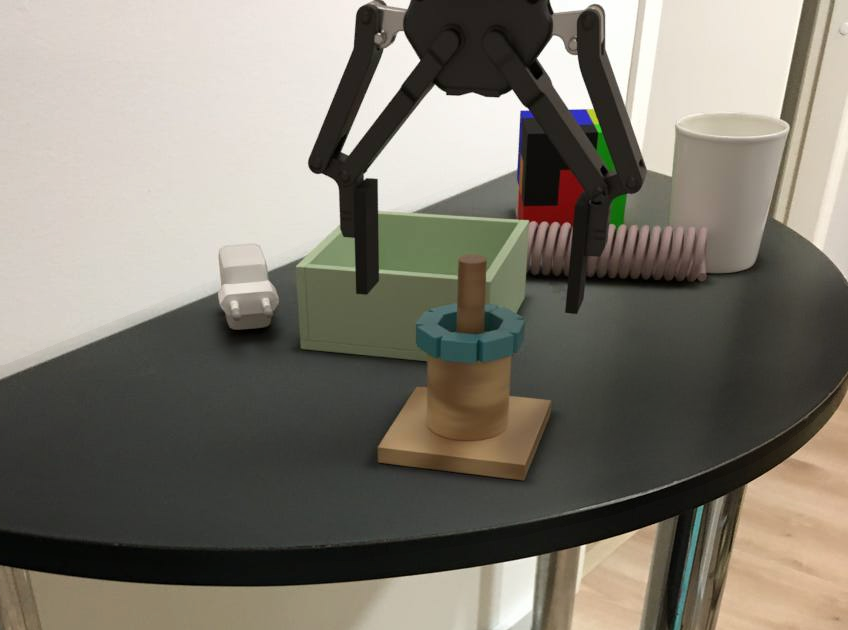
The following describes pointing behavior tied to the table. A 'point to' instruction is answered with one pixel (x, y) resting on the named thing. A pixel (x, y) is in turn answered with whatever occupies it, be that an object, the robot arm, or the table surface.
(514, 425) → the stand
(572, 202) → the puzzle toy
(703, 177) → the white cup
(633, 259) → the coil
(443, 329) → the ring
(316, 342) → the bin
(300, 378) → the table surface
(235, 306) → the power adapter
